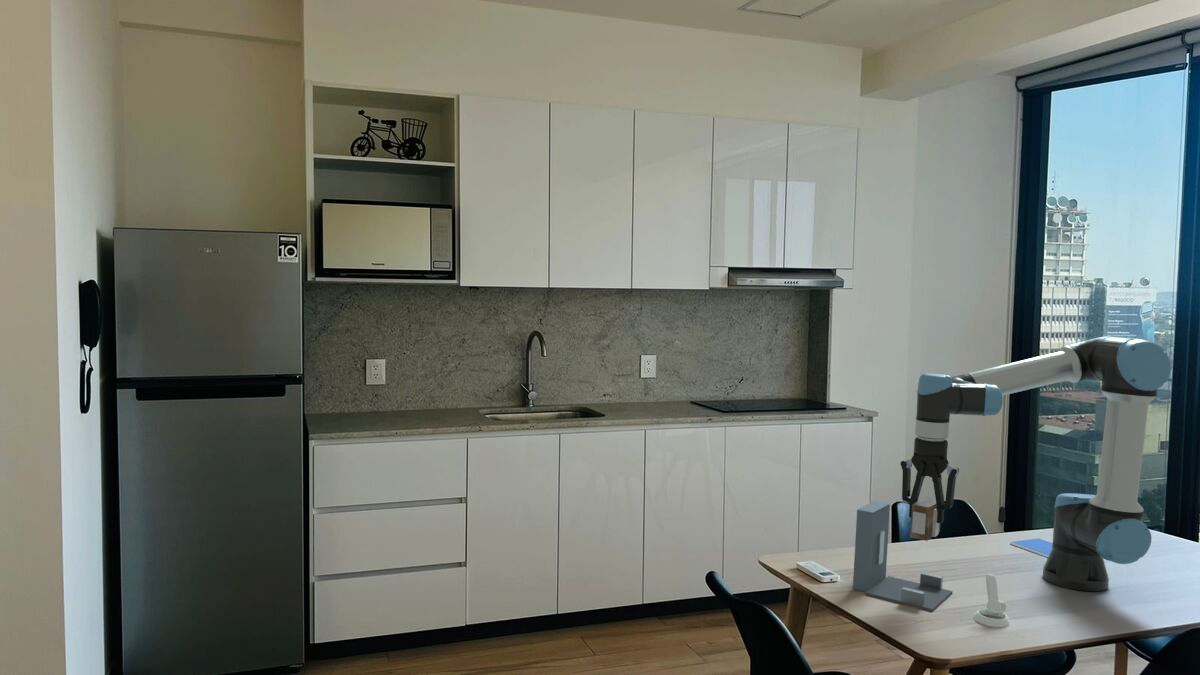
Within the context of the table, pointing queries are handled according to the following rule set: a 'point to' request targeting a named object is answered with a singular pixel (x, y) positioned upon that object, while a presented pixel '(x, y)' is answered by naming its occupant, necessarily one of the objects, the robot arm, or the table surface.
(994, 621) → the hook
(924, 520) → the labeled wooden box
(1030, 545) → the tablet computer
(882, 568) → the slotted tower stand
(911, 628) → the table surface
